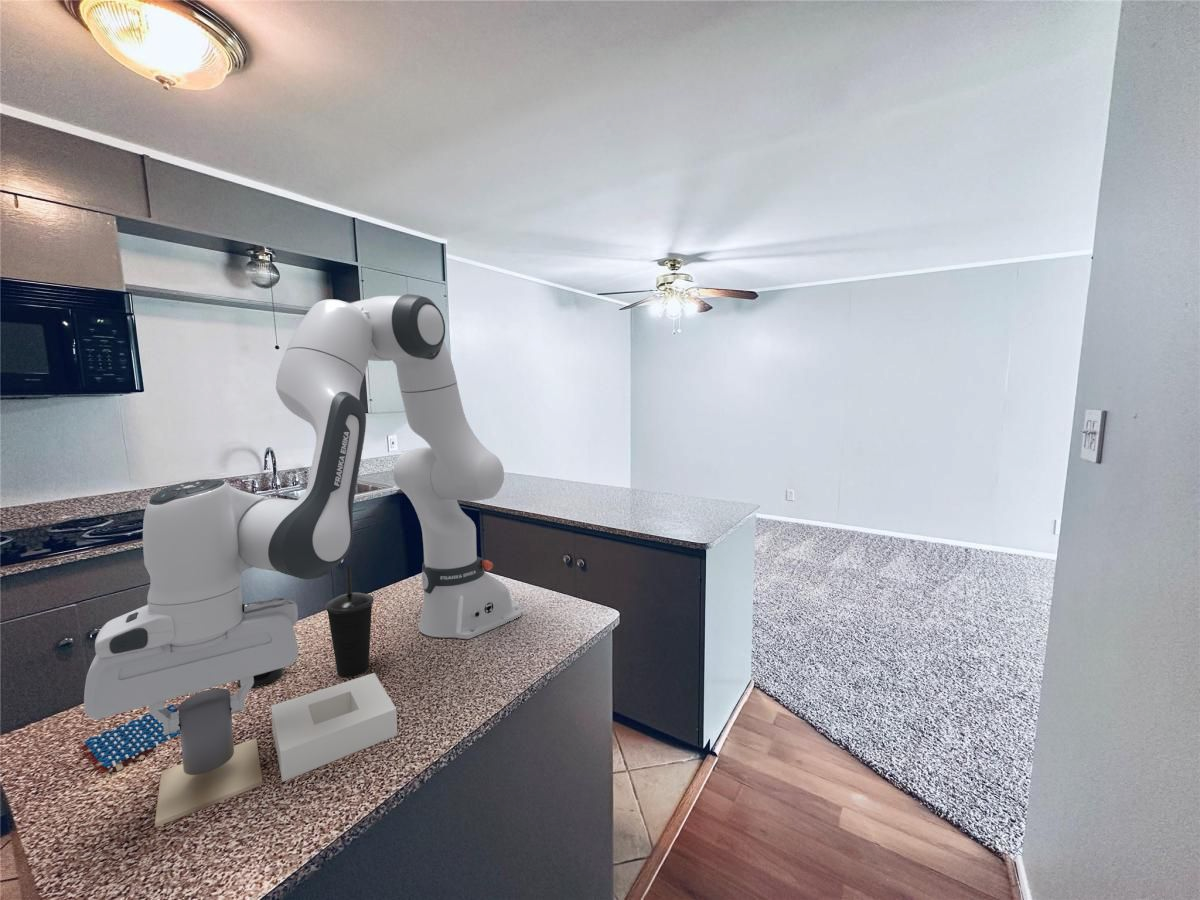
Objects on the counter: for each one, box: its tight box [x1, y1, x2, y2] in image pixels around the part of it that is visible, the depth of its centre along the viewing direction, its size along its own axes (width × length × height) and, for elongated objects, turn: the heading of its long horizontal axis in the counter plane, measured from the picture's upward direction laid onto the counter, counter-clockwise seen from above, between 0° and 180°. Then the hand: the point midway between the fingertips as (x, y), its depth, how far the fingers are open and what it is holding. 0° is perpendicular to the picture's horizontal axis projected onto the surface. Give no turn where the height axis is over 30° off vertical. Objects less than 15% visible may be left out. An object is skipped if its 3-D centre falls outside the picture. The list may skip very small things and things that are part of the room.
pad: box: [154, 737, 263, 828], centre depth 62 cm, size 10×10×2 cm
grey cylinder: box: [177, 687, 235, 775], centre depth 61 cm, size 5×5×8 cm
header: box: [270, 672, 398, 782], centre depth 71 cm, size 14×12×5 cm
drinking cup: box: [324, 565, 375, 678], centre depth 87 cm, size 8×8×20 cm
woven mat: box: [80, 703, 181, 778], centre depth 70 cm, size 10×11×2 cm
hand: (206, 720), depth 61 cm, fingers closed on grey cylinder, 5 cm apart
